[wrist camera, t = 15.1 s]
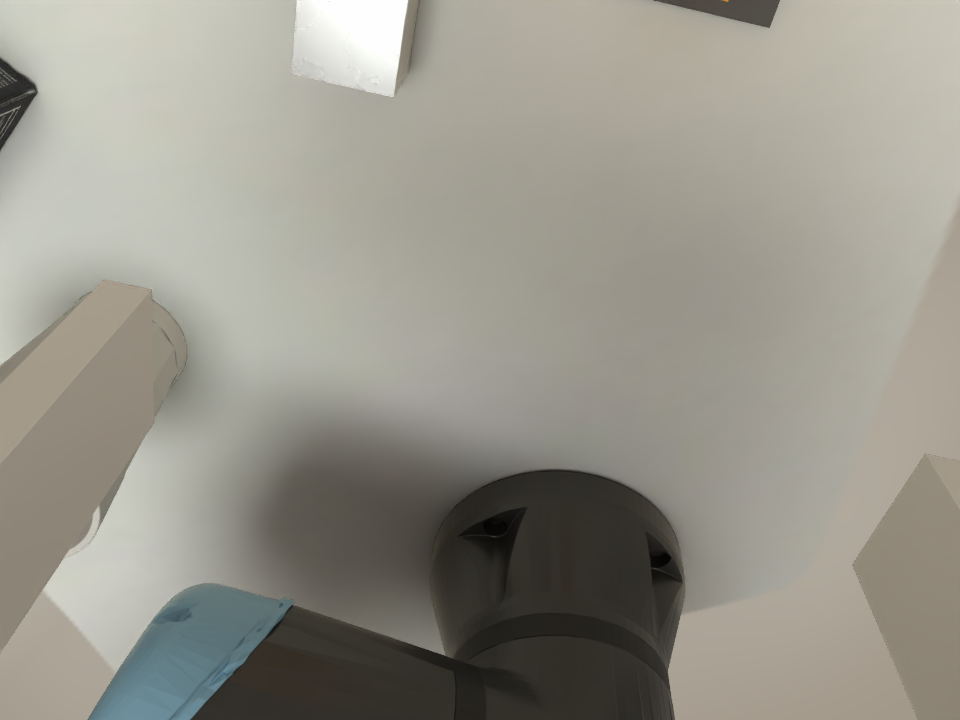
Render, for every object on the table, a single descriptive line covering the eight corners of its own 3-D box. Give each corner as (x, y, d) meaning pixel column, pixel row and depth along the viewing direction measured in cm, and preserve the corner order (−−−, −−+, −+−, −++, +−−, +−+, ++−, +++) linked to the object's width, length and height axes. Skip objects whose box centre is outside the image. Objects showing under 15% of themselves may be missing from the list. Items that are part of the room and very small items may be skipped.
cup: (83, 244, 41) (-70, 379, 30) (227, 329, 43) (129, 481, 33) (32, 352, 44) (-120, 503, 34) (166, 425, 46) (61, 588, 36)
